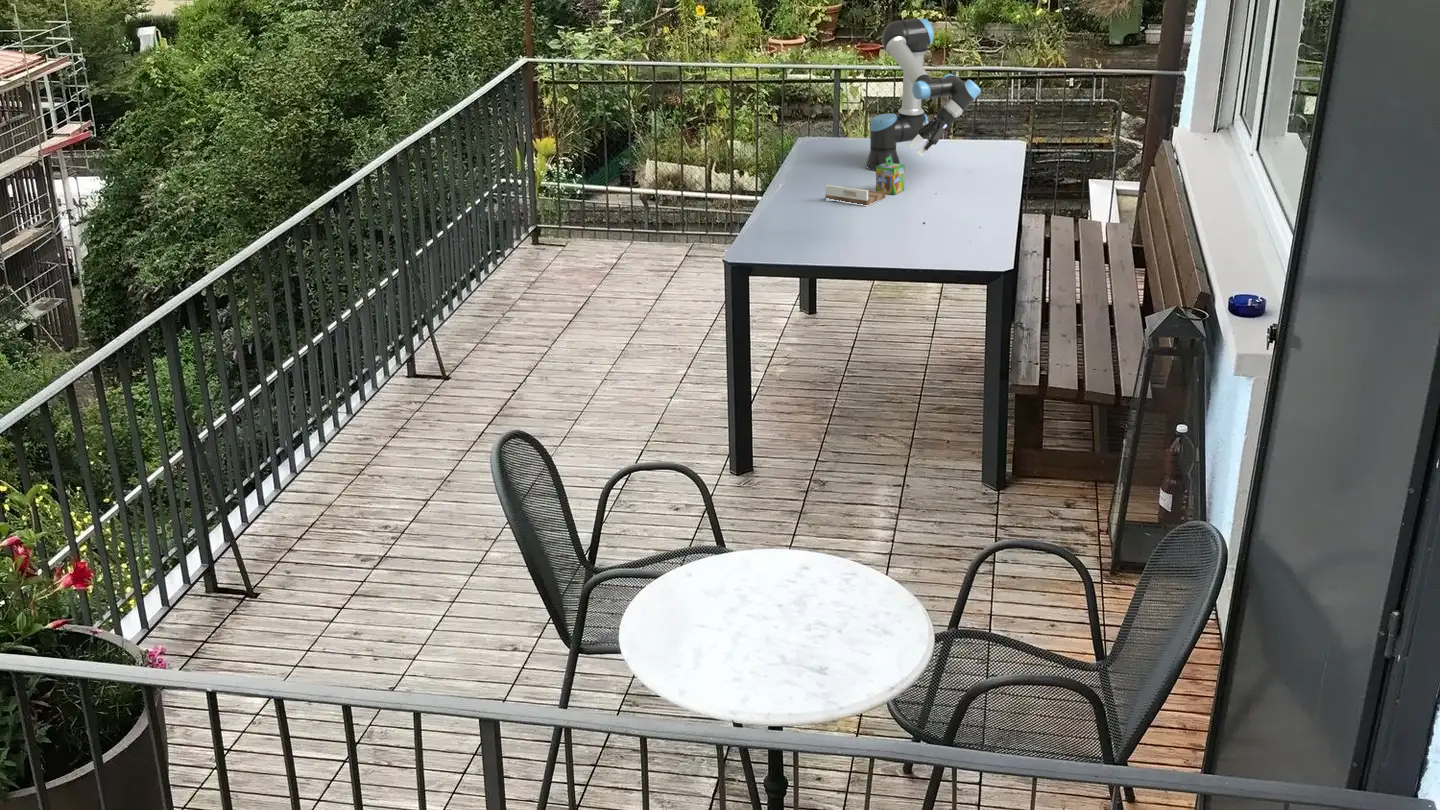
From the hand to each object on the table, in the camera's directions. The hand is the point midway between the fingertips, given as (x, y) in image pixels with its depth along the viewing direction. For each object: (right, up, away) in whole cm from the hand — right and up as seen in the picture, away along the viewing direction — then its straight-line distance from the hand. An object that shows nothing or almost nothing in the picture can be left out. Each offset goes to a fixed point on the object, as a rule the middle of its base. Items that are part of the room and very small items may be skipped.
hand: (914, 151), depth 569 cm
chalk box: (-9, -16, +6) cm, 20 cm away
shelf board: (-25, -21, -3) cm, 33 cm away
